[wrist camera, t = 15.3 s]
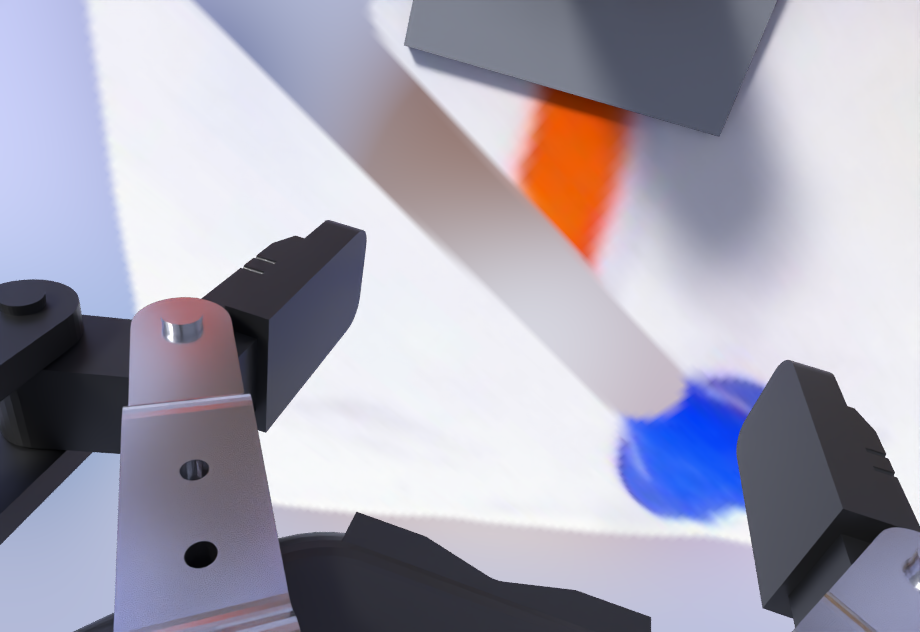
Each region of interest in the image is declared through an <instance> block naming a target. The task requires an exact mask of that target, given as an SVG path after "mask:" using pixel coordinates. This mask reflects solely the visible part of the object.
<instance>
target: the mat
mask: <svg viewBox="0 0 920 632" xmlns="http://www.w3.org/2000/svg"><path fill="white" fill-rule="evenodd" d="M776 2H777V0H413V3H412V8H411V13H410V18H409V23H408V28H407V33H406V38H405V43H404V46H408V47H411V48H415V49H418V50H422V51H425V52H429V53H432V54H435V55H439V56H442V57H446V58H449V59H453V60H456V61H460V62H463V63H467V64H470V65H473V66H477V67H480V68H484V69H487V70H491V71H494V72H498V73H501V74H505V75H508V76H512V77H515V78H518V79H522V80H525V81H529V82H532V83H536V84H539V85H543V86H546V87H550V88H553V89H557V90H560V91H563V92H567V93H570V94H574V95H577V96H581V97H584V98H588V99H591V100H595V101H598V102H601V103H605V104H608V105H612V106H615V107H619V108H622V109H626V110H629V111H633V112H636V113H640V114H643V115H646V116H650V117H653V118H657V119H660V120H664V121H667V122H671V123H674V124H678V125H681V126H685V127H688V128H691V129H695V130H698V131H702V132H705V133H709V134H712V135H716V136H720V134H721V132H722V129H723V127H724V125H725V122H726V120H727V118H728V115H729V113H730V111H731V108H732V106H733V104H734V101H735V99H736V97H737V94H738V92H739V89H740V87H741V85H742V82H743V80H744V78H745V75H746V73H747V71H748V68H749V66H750V64H751V61H752V59H753V57H754V54H755V52H756V49H757V47H758V45H759V42H760V40H761V38H762V35H763V33H764V31H765V28H766V26H767V24H768V21H769V19H770V17H771V14H772V12H773V9H774V7H775V5H776Z"/></svg>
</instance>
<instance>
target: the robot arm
mask: <svg viewBox="0 0 920 632" xmlns="http://www.w3.org/2000/svg"><path fill="white" fill-rule="evenodd" d="M365 250H366V233H365V231H364V230H360V229H357V228H354V227H350V226H347V225H344V224H340V223H337V222H334V221H331V220H327V221H325V222H324V223H322V224H321V225H320V226H319V227H318V228H316V229H315V230H314V231H313V232H312V233H311V234H309V235H308V236H307V237H306V238H301V237H298V236H293V237H290V238H287V239H284V240H281V241H278V242H275V243H272V244H271V245H269V246H268V247H267V248H266V249H264V250H263V251H262V252H260V253H259V254H258V255H257V257H256V258H253V259H252V260H250V261H249V262H248V263H246V264H245V265H244V268H243V269H242V268H240V269H239V270H237V271H236V272H235V273H234V274H232V275H231V276H230V277H229V278H227V279H226V280H225V281H223V282H222V283H221V284H220V285H218V286H217V287H216V288H214V289H213V290H212V291H211V292H209V293H208V294H207V295H206V296H204V297H203V298H202V299H199V298H190V297H180V298H170V299H165V300H161V301H158V302H155V303H152V304H150V305H148V306H146V307H144V308H143V309H141V310H140V311H139V312H138V313H137V314H136V315H135V316H134V317H133V319H132V320H130V319H118V318H109V317H99V316H90V315H82V314H81V308H80V302H79V298H78V295H77V293H76V292H75V291H74V290H73V289H71V288H70V287H68V286H66V285H64V284H61V283H58V282H54V281H48V280H19V281H12V282H7V283H3V284H0V545H1V544H2V543H3V542H4V541H5V540H6V538H7V537H9V535H10V534H12V533H13V532H14V530H16V528H17V527H18V526H19V525H20V524H21V523H22V522H23V521H24V520H25V519H26V518H27V517H28V516H29V515H30V514H31V513H32V512H33V511H34V510H35V509H36V508H37V507H38V506H39V505H40V504H41V503H42V502H43V501H44V500H45V499H46V498H47V497H48V496H49V495H50V494H51V493H52V492H53V491H54V490H55V489H56V488H57V487H58V486H59V485H60V484H61V483H62V482H63V481H64V480H65V479H66V478H67V477H68V476H69V475H70V474H71V473H72V472H73V471H74V470H75V469H76V468H77V467H78V466H79V465H80V464H81V463H82V462H83V461H84V460H85V459H86V458H87V457H88V456H89V455H90V454H91V453H92V452H101V453H116V454H120V478H119V506H118V531H117V558H116V582H115V584H116V585H115V609H114V613H112V614H110V615H108V616H106V617H104V618H102V619H99V620H97V621H95V622H93V623H91V624H89V625H87V626H84V627H82V628H80V629H78V630H76V631H74V632H651V617H649V616H646V615H643V614H641V613H638V612H635V611H632V610H629V609H626V608H624V607H621V606H618V605H615V604H613V603H610V602H607V601H604V600H601V599H599V598H596V597H593V596H590V595H587V594H585V593H582V592H579V591H576V590H569V589H560V588H552V587H543V586H535V585H527V584H518V583H509V582H502V581H498V580H495V579H492V578H490V577H489V576H487V575H485V574H484V573H482V572H481V571H479V570H477V569H476V568H474V567H473V566H471V565H470V564H468V563H466V562H465V561H463V560H462V559H460V558H459V557H457V556H455V555H454V554H452V553H451V552H449V551H448V550H446V549H444V548H443V547H441V546H440V545H438V544H437V543H435V542H433V541H432V540H430V539H429V538H427V537H425V536H423V535H420V534H417V533H414V532H411V531H409V530H406V529H403V528H400V527H397V526H395V525H392V524H389V523H386V522H384V521H381V520H378V519H375V518H372V517H370V516H367V515H364V514H361V513H358V512H356V514H355V516H354V518H353V520H352V522H351V524H350V526H349V527H348V529H347V531H346V533H338V532H313V533H304V534H296V535H292V536H287V537H282V538H278V535H277V530H276V525H275V519H274V514H273V509H272V503H271V498H270V492H269V487H268V482H267V477H266V471H265V466H264V461H263V455H262V450H261V445H260V439H259V434H258V430H259V431H262V432H265V433H266V432H267V431H268V429H269V428H270V427H271V426H272V424H273V423H274V422H275V421H276V419H277V418H278V417H279V415H280V414H281V413H282V412H283V410H284V409H285V408H286V407H287V405H288V404H289V403H290V402H291V400H292V399H293V398H294V397H295V395H296V394H297V393H298V392H299V390H300V389H301V388H302V386H303V385H304V384H305V383H306V381H307V380H308V379H309V378H310V376H311V375H312V374H313V373H314V371H315V370H316V369H317V368H318V366H319V365H320V364H321V362H322V361H323V360H324V359H325V357H326V356H327V355H328V354H329V352H330V351H331V350H332V349H333V347H334V346H335V345H336V344H337V342H338V341H339V340H340V339H341V337H342V336H343V335H344V333H345V332H346V331H347V330H348V328H349V327H350V325H351V323H352V321H353V319H354V317H355V314H356V311H357V308H358V304H359V299H360V291H361V283H362V275H363V267H364V259H365ZM885 455H886V453H885V450H884V448H883V446H882V444H881V442H880V440H879V438H878V435H877V433H876V431H875V430H874V429H873V428H872V427H871V426H870V425H869V424H868V423H867V422H866V421H865V419H864V418H863V417H862V416H861V415H860V414H859V413H858V412H857V411H856V410H855V409H854V408H851V407H848V406H847V404H846V402H845V400H844V397H843V395H842V393H841V390H840V388H839V386H838V383H837V381H836V379H835V377H834V375H833V374H832V373H830V372H827V371H824V370H820V369H817V368H814V367H811V366H807V365H804V364H801V363H797V362H794V361H791V360H785V361H783V362H782V363H781V364H780V365H779V366H778V367H777V369H776V370H775V372H774V373H773V375H772V377H771V378H770V380H769V382H768V383H767V385H766V387H765V388H764V390H763V392H762V393H761V395H760V397H759V398H758V400H757V402H756V403H755V405H754V406H753V408H752V410H751V411H750V413H749V415H748V416H747V418H746V420H745V421H744V423H743V425H742V428H741V430H740V433H739V437H738V441H737V460H738V466H739V472H740V478H741V484H742V489H743V495H744V501H745V507H746V513H747V519H748V525H749V531H750V537H751V542H752V548H753V554H754V559H755V565H756V572H757V578H758V584H759V589H760V595H761V601H762V607H763V608H764V609H767V610H770V611H773V612H775V613H778V614H781V615H784V616H787V617H790V618H793V619H794V624H795V629H794V630H793V631H792V632H920V526H919V523H918V521H917V519H916V517H915V515H914V513H913V511H912V508H911V506H910V504H909V502H908V500H907V498H906V496H905V493H904V491H903V489H902V487H901V485H900V483H899V481H898V478H897V477H894V473H895V472H894V470H893V468H892V466H891V463H890V461H889V459H888V458H885Z"/></svg>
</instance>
